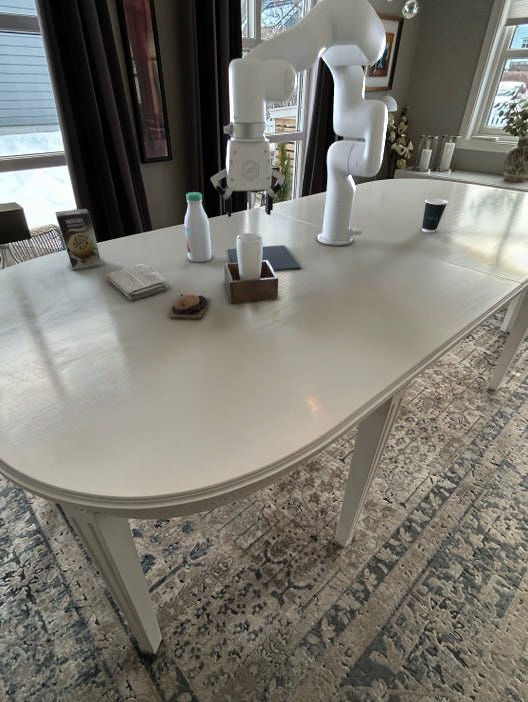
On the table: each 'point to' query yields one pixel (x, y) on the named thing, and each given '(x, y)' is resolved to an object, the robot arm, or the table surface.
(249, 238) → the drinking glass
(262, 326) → the table surface
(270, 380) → the table surface
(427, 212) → the dixie cup
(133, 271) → the washcloth
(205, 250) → the milk bottle
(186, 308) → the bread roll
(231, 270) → the box
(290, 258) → the mat
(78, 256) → the cookie box
